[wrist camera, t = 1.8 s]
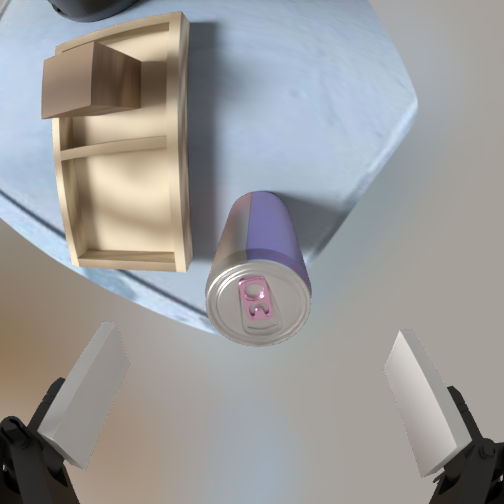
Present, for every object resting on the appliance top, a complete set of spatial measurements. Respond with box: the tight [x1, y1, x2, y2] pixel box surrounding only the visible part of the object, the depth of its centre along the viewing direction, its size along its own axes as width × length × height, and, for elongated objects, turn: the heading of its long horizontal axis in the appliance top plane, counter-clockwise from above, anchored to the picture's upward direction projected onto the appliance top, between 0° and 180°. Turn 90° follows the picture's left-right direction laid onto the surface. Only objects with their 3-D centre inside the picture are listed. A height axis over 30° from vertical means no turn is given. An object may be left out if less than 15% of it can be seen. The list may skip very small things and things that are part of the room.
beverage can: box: [205, 191, 312, 347], centre depth 21 cm, size 6×6×15 cm
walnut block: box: [42, 41, 142, 119], centre depth 18 cm, size 5×5×9 cm
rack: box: [52, 11, 193, 272], centre depth 24 cm, size 25×14×3 cm, turn 179°
